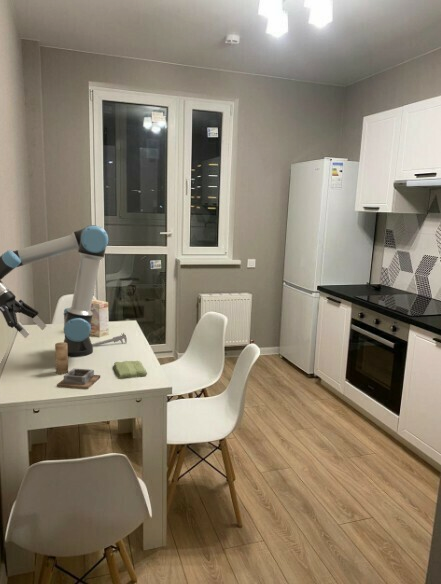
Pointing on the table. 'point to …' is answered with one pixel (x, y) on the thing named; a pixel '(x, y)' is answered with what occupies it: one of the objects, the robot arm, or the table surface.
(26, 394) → the table surface
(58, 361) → the oak pin
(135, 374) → the washcloth
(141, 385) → the table surface
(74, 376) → the socket board
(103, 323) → the coffeecake box
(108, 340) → the caliper
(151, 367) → the table surface
